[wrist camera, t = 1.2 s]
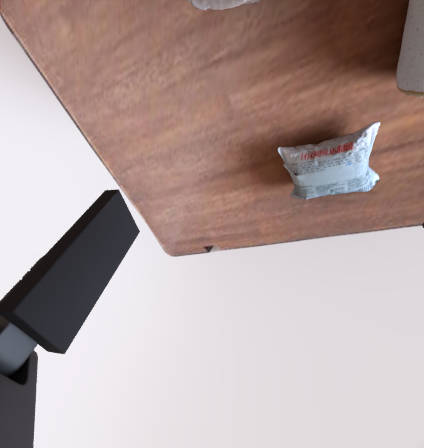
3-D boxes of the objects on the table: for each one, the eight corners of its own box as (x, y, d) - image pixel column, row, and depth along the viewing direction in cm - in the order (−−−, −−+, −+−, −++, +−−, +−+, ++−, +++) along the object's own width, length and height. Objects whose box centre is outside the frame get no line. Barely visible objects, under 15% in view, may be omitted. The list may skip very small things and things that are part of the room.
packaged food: (279, 140, 36) (276, 157, 33) (377, 115, 31) (386, 132, 28) (291, 189, 41) (290, 208, 38) (377, 175, 36) (384, 196, 33)
